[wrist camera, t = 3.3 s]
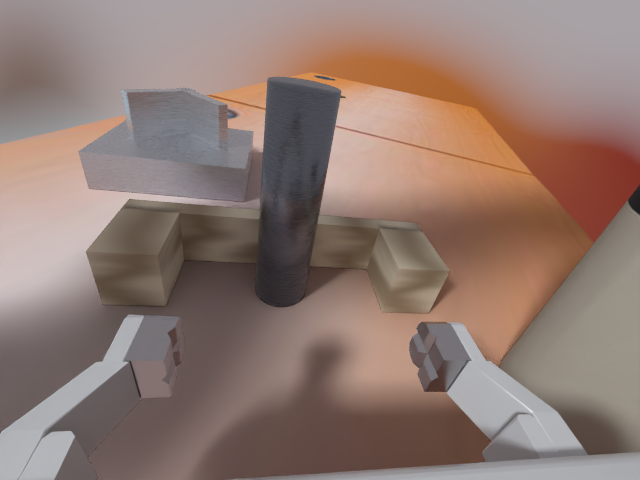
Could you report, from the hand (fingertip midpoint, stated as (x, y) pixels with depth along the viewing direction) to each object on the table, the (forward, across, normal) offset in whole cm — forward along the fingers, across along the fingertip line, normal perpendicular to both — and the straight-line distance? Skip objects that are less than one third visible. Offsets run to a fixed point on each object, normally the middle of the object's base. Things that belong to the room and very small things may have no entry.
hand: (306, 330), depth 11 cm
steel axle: (+12, 0, +9) cm, 15 cm away
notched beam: (+13, 0, +9) cm, 16 cm away
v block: (+32, +12, +9) cm, 35 cm away
